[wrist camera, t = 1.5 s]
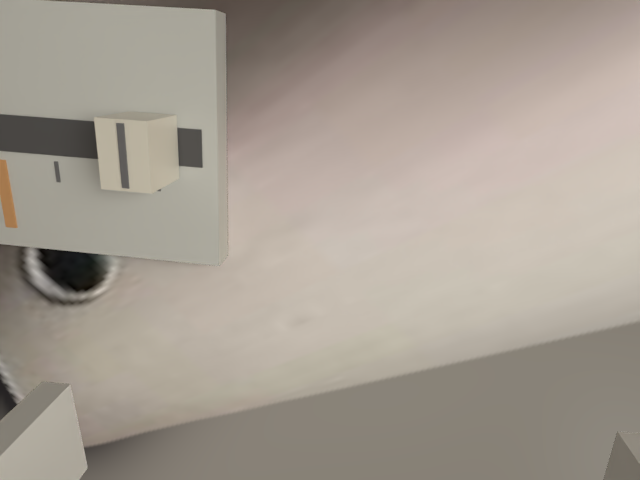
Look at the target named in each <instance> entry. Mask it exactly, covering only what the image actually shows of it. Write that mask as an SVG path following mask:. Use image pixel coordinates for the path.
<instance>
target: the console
mask: <svg viewBox="0 0 640 480" xmlns="http://www.w3.org/2000/svg"><path fill="white" fill-rule="evenodd" d="M130 111H131V112H145V113H158V114H171V115H177V134H178V157H179V179H178V180H176V181H174V182H172V183H170V184H169V185H167V186H165V187H163V188H161V189H159V190H158V191H156V192H154V193H152V194H150V193H139V192H128V191H117V190H105V189H101V181H100V172H99V162H98V153H97V143H96V133H95V124H94V117H98V116H105V115H111V114H117V113H123V112H130ZM0 244H5V245H15V246H25V247H35V248H45V249H55V250H64V251H74V252H84V253H94V254H104V255H114V256H124V257H134V258H143V259H153V260H163V261H173V262H183V263H193V264H203V265H213V266H220V265H221V264H222V262H223V261H224V260H225V259H226V257H227V256H228V205H227V89H226V14H225V13H222V12H220V11H217V10H209V9H191V8H173V7H155V6H137V5H119V4H101V3H83V2H64V1H46V0H0Z"/></svg>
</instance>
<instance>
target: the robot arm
mask: <svg viewBox="0 0 640 480" xmlns="http://www.w3.org/2000/svg"><path fill="white" fill-rule="evenodd" d="M87 468H88V467H87V462H86V457H85V452H84V447H83V443H82V438H81V433H80V428H79V423H78V418H77V414H76V409H75V404H74V399H73V394H72V389H71V384H64V383H53V382H41V383H40V384H39V385H38V386H37V387H36V388H35V389H34V390H33V391H32V392H31V393H30V394H28V395H27V396H26V397H25V398H24V399H23V400H22V401H21V402H20V403H19V404H18V405H17V406H16V407H15V408H13V409H12V410H11V411H10V412H9V413H8V414H7V415H6V416H5V417H4V418H3V419H2V420H1V421H0V480H79V479H80V478H81V476H82V475H83V474H84V472H85V471H86V469H87ZM603 480H640V433H632V432H620V431H618V432H617V434H616V438H615V441H614V444H613V448H612V451H611V455H610V458H609V462H608V465H607V468H606V472H605V475H604V479H603Z"/></svg>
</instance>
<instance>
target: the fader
mask: <svg viewBox="0 0 640 480" xmlns="http://www.w3.org/2000/svg"><path fill="white" fill-rule="evenodd" d="M94 124H95V133H96V143H97V153H98V162H99V172H100V181H101V189H105V190H117V191H128V192H139V193H150V194H152V193H154V192H156V191H158V190H159V189H161V188H163V187H165V186H167V185H169V184H170V183H172V182H174V181H176V180H178V179H179V157H178V134H177V115H171V114H158V113H145V112H131V111H130V112H123V113H117V114H111V115H105V116H98V117H94Z"/></svg>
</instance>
